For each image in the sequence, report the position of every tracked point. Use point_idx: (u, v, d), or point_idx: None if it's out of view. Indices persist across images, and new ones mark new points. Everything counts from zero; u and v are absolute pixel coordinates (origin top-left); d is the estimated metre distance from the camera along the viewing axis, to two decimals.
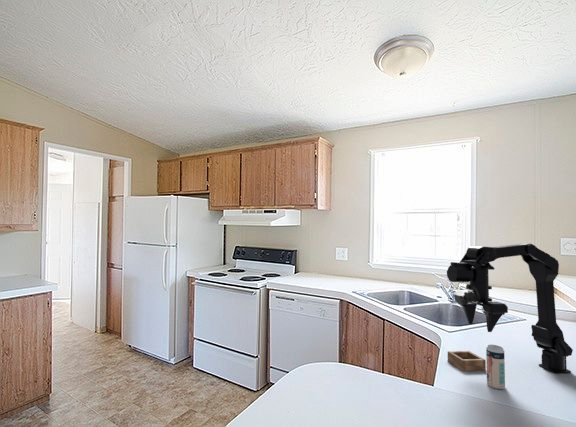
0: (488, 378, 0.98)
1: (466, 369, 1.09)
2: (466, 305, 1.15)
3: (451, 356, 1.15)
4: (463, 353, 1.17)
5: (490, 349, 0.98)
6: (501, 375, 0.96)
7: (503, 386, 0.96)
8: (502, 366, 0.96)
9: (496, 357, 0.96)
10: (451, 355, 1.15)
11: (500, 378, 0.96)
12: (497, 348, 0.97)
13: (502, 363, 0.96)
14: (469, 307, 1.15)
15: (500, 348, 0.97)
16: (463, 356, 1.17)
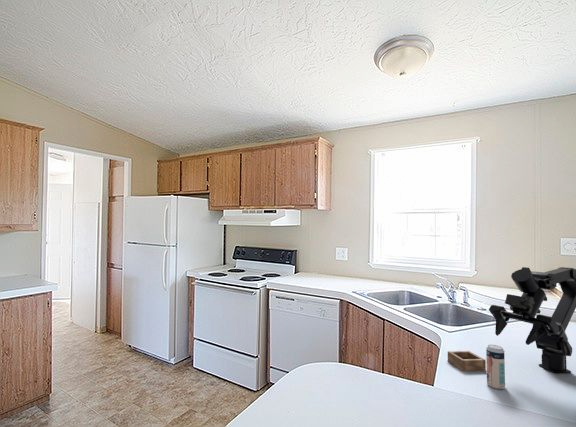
0: (488, 378, 0.98)
1: (466, 369, 1.09)
2: (501, 317, 1.08)
3: (451, 356, 1.15)
4: (463, 353, 1.17)
5: (490, 349, 0.98)
6: (501, 375, 0.96)
7: (503, 386, 0.96)
8: (502, 366, 0.96)
9: (496, 357, 0.96)
10: (451, 355, 1.15)
11: (500, 378, 0.96)
12: (497, 348, 0.97)
13: (502, 363, 0.96)
14: (502, 320, 1.08)
15: (500, 348, 0.97)
16: (463, 356, 1.17)
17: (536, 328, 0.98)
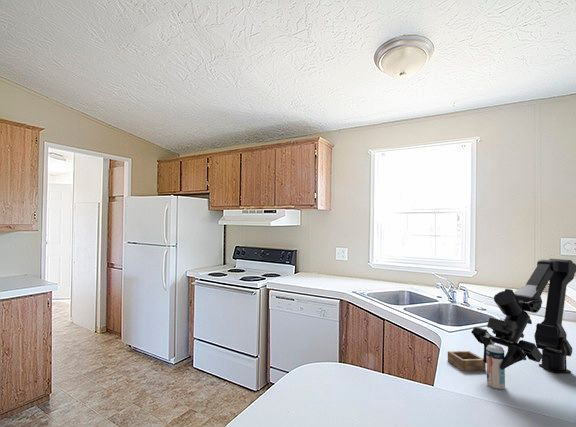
0: (488, 378, 0.98)
1: (466, 369, 1.09)
2: (490, 342, 1.02)
3: (451, 356, 1.15)
4: (463, 353, 1.17)
5: (490, 349, 0.98)
6: (501, 375, 0.96)
7: (503, 386, 0.96)
8: None
9: (496, 357, 0.96)
10: (451, 355, 1.15)
11: (500, 378, 0.96)
12: (497, 348, 0.97)
13: None
14: None
15: (500, 348, 0.97)
16: (463, 356, 1.17)
17: (511, 352, 0.95)
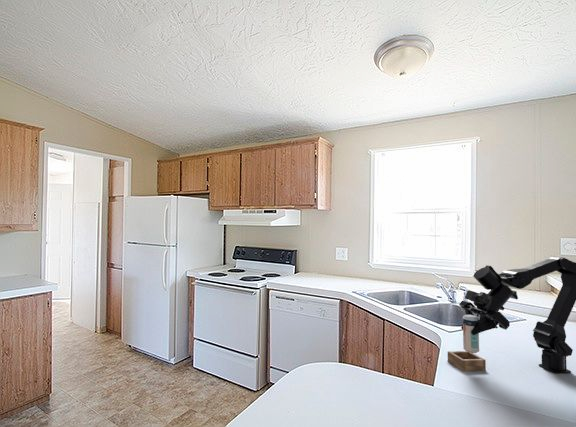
0: (463, 343, 1.10)
1: (466, 369, 1.09)
2: (471, 313, 1.14)
3: (451, 356, 1.15)
4: (463, 353, 1.17)
5: (464, 317, 1.10)
6: (473, 340, 1.08)
7: (475, 350, 1.07)
8: None
9: (468, 324, 1.09)
10: (451, 355, 1.15)
11: (472, 343, 1.08)
12: (470, 317, 1.09)
13: None
14: None
15: (474, 317, 1.09)
16: (463, 356, 1.17)
17: (481, 320, 1.06)
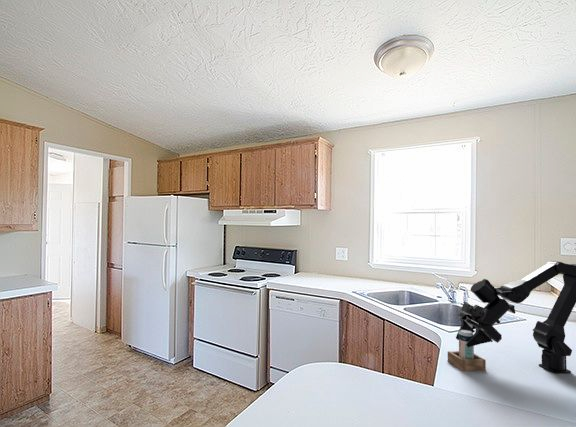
0: None
1: (466, 369, 1.09)
2: (466, 324, 1.18)
3: (451, 356, 1.15)
4: None
5: (460, 333, 1.14)
6: (467, 355, 1.11)
7: None
8: (468, 348, 1.11)
9: (463, 339, 1.12)
10: (451, 355, 1.15)
11: (466, 357, 1.11)
12: (466, 332, 1.13)
13: None
14: (467, 327, 1.18)
15: (469, 332, 1.13)
16: None
17: (476, 333, 1.09)
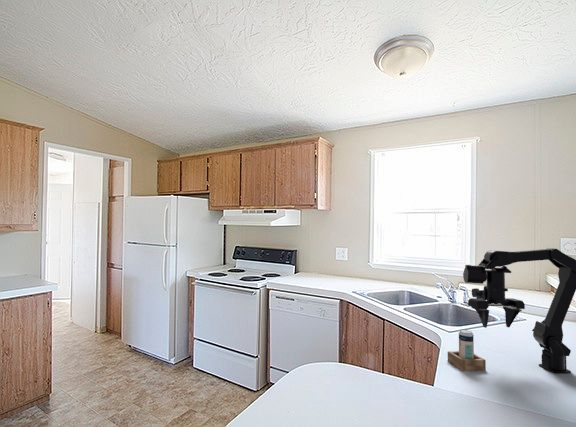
0: None
1: (466, 369, 1.09)
2: (506, 308, 1.19)
3: (451, 356, 1.15)
4: None
5: (460, 333, 1.14)
6: (467, 355, 1.11)
7: None
8: (468, 348, 1.11)
9: (462, 339, 1.12)
10: (451, 355, 1.15)
11: (466, 357, 1.11)
12: (466, 332, 1.13)
13: (468, 345, 1.11)
14: (508, 311, 1.18)
15: (469, 332, 1.13)
16: None
17: None
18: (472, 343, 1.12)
